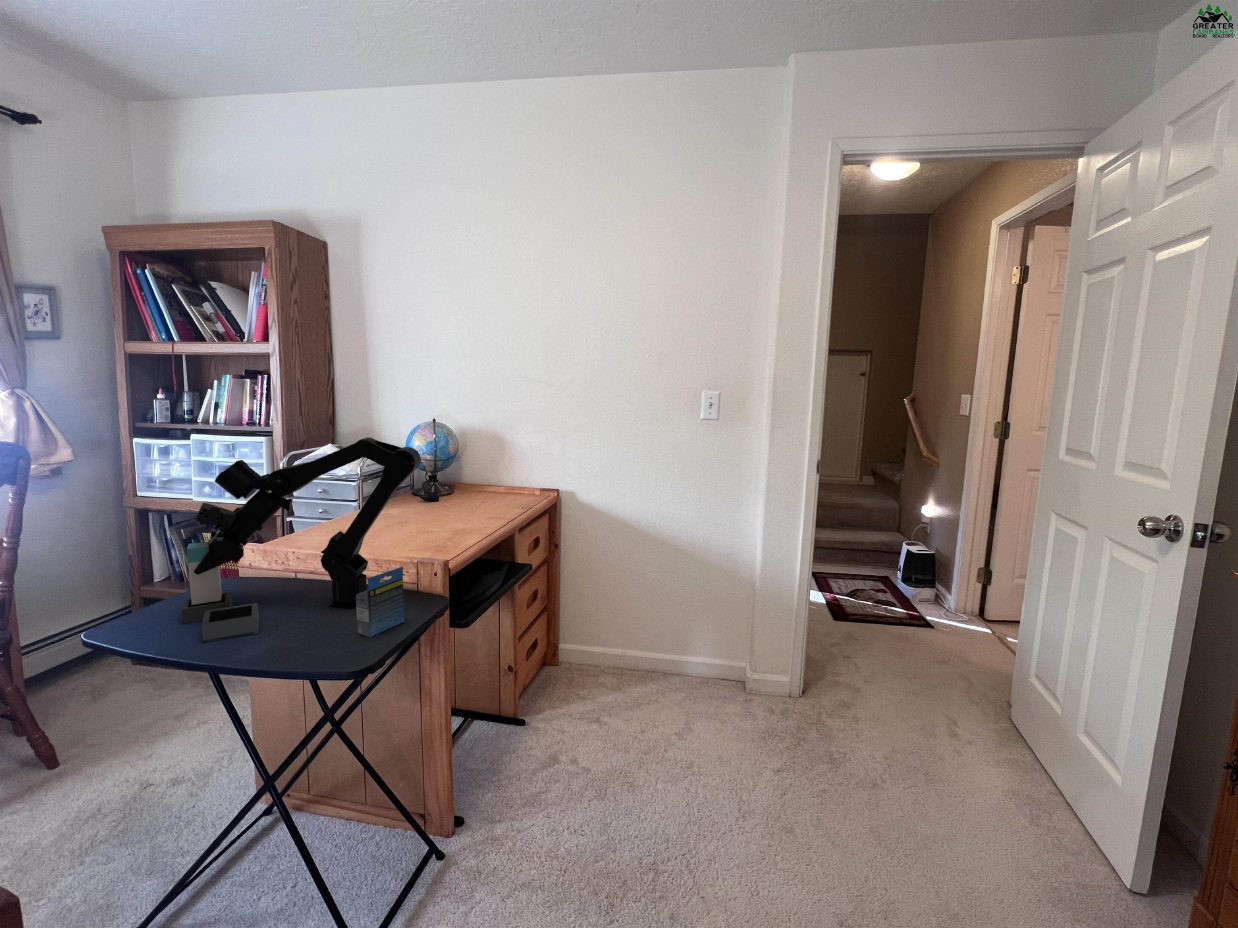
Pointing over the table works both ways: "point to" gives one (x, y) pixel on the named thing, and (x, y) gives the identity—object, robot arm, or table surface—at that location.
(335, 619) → the table surface
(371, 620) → the label tape cartridge
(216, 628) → the port
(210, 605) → the frame
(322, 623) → the table surface
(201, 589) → the plug
